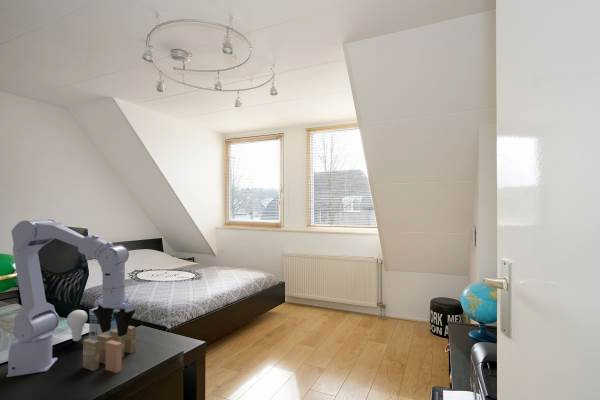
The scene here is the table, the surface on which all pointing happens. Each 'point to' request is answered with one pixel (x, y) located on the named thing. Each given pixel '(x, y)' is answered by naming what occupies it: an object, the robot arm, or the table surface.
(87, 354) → the domino
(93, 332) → the light bulb box
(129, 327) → the domino
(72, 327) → the lightbulb
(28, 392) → the table surface
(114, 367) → the domino
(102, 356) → the domino
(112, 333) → the domino
